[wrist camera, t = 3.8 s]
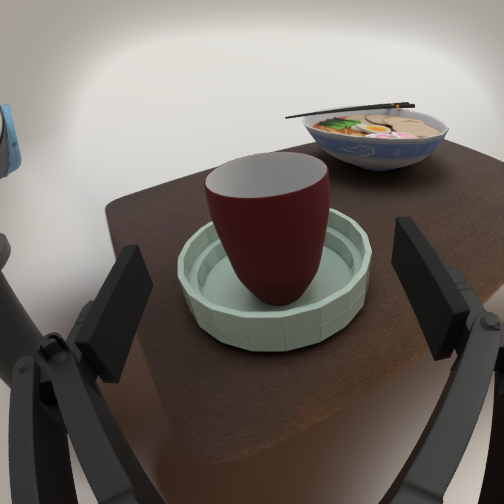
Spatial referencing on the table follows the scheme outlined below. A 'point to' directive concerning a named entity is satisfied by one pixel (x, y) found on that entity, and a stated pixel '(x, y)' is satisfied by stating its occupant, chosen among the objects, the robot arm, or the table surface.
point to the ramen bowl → (375, 134)
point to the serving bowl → (269, 316)
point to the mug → (271, 220)
